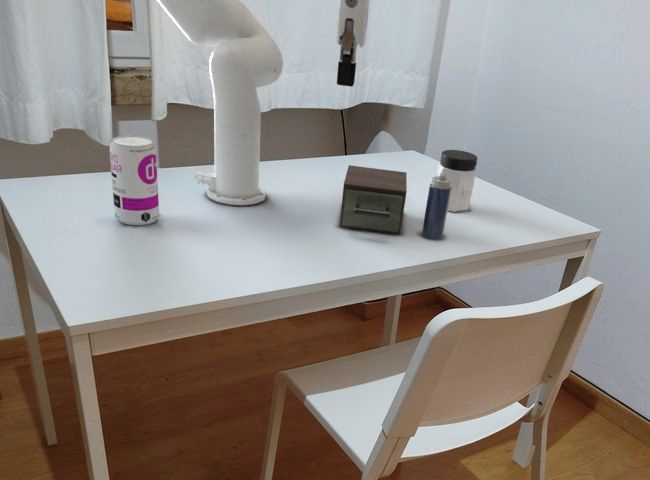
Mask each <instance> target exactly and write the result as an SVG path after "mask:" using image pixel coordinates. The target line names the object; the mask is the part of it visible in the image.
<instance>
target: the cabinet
mask: <svg viewBox="0 0 650 480" xmlns="http://www.w3.org/2000/svg"><path fill="white" fill-rule="evenodd" d="M343 181H344V182H343V187H342V196H341V208H340V218H339V219H340V220H339V226H338V227H339V228H343V229H345V228H346V229H353V230H361V231H369V232H378V233H384V234H385V233H386V234H393V235H401V232H402V225H403V224H402V223H403V218H404V211H405V204H406V198H407V191H408V190H407V187H408V186H407V183H408V182H407V172H405V171H398V170H390V169H382V168H376V167H375V168H373V167H365V166H360V165H359V166H358V165H350V164H349V165H348V166H347V170H346V174H345V178H344V180H343ZM350 188H351V189H359V190H367V191H375V192H383V193H391V194H399V195H401V196H403V201H402V207H401V214H400V221H399V228H398V232H393V231H385V230H377V229H369V228H361V227H353V226H345V225H342V223H343V213H344V203H345V194H346V189H350Z"/></svg>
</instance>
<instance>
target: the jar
mask: <svg viewBox="0 0 650 480" xmlns="http://www.w3.org/2000/svg"><path fill="white" fill-rule="evenodd" d="M477 165H478V156H477V155H475V154H474V153H472V152H469V151H465V150H459V149H446V150H443V151H441V156H440V161H439V162H438V165H437V173H436V177H437V176H439V174H440V173H445V174H446V178H449V179H450V180H451V188H452V189H451V194H450V200H449V205H448V211H447V212H452V213H457V212H463V211H464V212H465V211H468V210H469V209H470V204H471V200H472V194H473V189H474V185H475V179H476V174H477V170H476V168H477Z"/></svg>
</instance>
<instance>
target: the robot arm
mask: <svg viewBox="0 0 650 480" xmlns="http://www.w3.org/2000/svg"><path fill="white" fill-rule="evenodd" d="M156 1H157V2H158V3H159V5H160V6H161V7H162V9H163V11H165V12H166V14H167V15H168V16H169V17H170V18H171V19H172V21H173V22H174V23H175V24H176V26H177V27H178V28H179V29H180V31H181V32H182V33H183V34H184V35H185V37H186V38H187V39H188V40H189V41H190V42H191V43H192V44H193V45H195V46H197V47H199V48H214V47H215V48H214V49H213V51H212V52H211V54H210V58H209V65H208V66H209V68H208V69H209V76H210V82H211V83H210V84H211V89H212V95H213V97H212V98H213V123H214V124H213V126H214V127H213V129H214V130H213V134H214V135H213V137H214V139H213V140H214V141H213V143H214V144H213V145H214V146H213V148H214V149H213V152H214V153H213V154H214V156H213V157H214V159H213V161H214V166H213V171H214V172H209V173H205V172H200V171H196V172H195V173H194V181H195V182H197V184H198V185H208V187H207V189H206V195H207V197H208V198H209V199H210V200H212V201H214V202H216V203H219V204H225V205H231V206H250V205H256V204H260V203H262V202H263V201H264V200H265V199H266V195H267V194H266V193H267V192H266V191H265V189H263V188H262V187H260V163H261V162H260V160H261V159H260V157H261V130H262V129H261V127H262V110H261V105H260V100H259V95H258V91H257V88H261V87H266V86H268V85H271V84H273V83H274V82H276V81H277V80H278V79H279V78H280V77H281V75H282V71H283V69H284V59H283V55H282V52H281V50H280V48H279V46H278V44H277V43H276V41H275V40H274V38H273V37H272V36H271V35H270V34H269V33H268V32H267V30H266V29H265V28H264V27H263V25H262V24H261V23H260V22H259V20H258V19H257V18H256V16H255V15H254V14H253V13H252V11H251V10H250V9H249V8H248V7H247V5H245V4H244V3H243V2H242V1H241V0H156ZM369 11H370V0H338V3H337V17H336V19H337V20H336V43H337V45H339V46H340V51H339V60H338V64H337V74H336V85H338V86H343V87H351V88H352V87H354V85H355V80H356V79H355V78H356V69H357V62H356V59H357V58H356V57H357V51H358V50H357V49H358V45H359V48H360V49H361V48H363V47H364V46H365V43H366V38H367V29H368V20H369Z"/></svg>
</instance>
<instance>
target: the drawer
mask: <svg viewBox="0 0 650 480" xmlns="http://www.w3.org/2000/svg"><path fill="white" fill-rule="evenodd" d="M402 201H403V196H401V195H399V194H391V193H383V192H375V191H367V190H359V189H351V188H350V189H346V194H345V203H344V213H343V223H342V225H345V226H353V227H361V228H369V229H377V230H385V231H393V232H398V228H399V221H400V214H401V207H402Z"/></svg>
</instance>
